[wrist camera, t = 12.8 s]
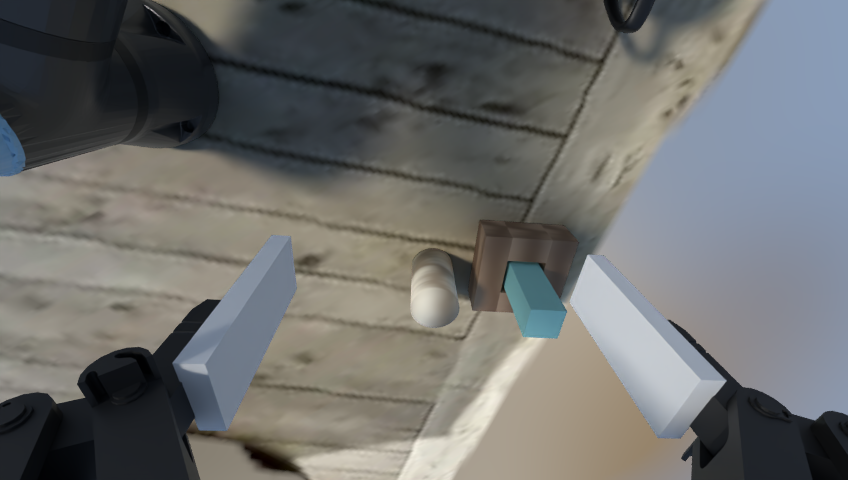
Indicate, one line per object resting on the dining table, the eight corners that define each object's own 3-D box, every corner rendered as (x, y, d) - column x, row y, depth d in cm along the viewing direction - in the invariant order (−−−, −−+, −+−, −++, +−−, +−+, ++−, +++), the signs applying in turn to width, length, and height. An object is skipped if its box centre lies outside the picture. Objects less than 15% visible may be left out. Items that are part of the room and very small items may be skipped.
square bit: (497, 269, 50) (523, 336, 38) (502, 246, 48) (531, 309, 36) (523, 271, 50) (557, 338, 38) (529, 248, 48) (567, 311, 36)
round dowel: (410, 280, 51) (409, 326, 42) (413, 247, 48) (412, 288, 39) (449, 283, 51) (456, 328, 42) (454, 249, 48) (462, 290, 39)
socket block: (467, 289, 52) (472, 310, 47) (479, 219, 46) (486, 236, 42) (543, 293, 52) (554, 314, 48) (563, 225, 46) (578, 242, 42)
